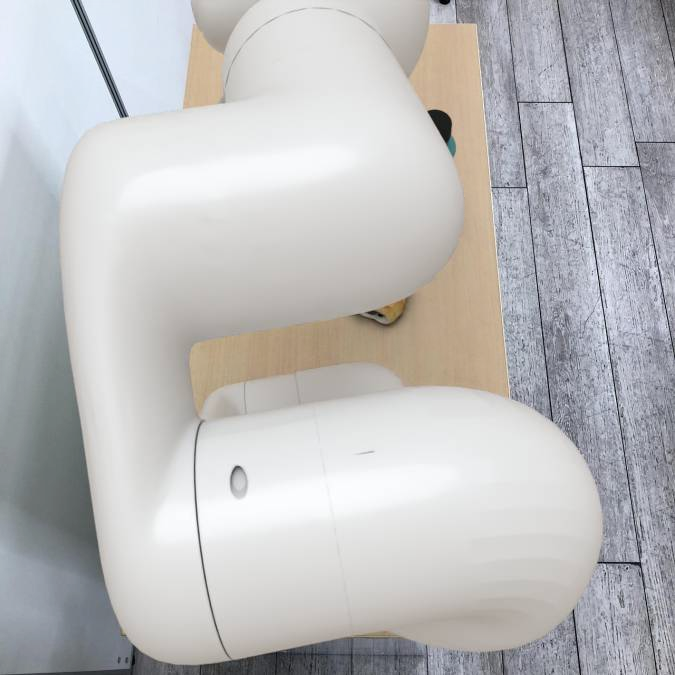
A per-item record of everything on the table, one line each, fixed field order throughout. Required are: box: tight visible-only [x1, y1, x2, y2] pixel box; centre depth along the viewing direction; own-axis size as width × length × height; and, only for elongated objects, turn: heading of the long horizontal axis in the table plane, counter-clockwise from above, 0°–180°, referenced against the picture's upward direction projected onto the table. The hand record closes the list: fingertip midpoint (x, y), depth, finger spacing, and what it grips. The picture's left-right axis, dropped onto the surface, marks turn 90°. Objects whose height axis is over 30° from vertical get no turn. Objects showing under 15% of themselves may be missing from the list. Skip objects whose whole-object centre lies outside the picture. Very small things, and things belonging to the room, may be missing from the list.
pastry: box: [359, 297, 408, 325], centre depth 85 cm, size 9×7×4 cm
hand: (290, 157), depth 70 cm, fingers closed on block, 4 cm apart
